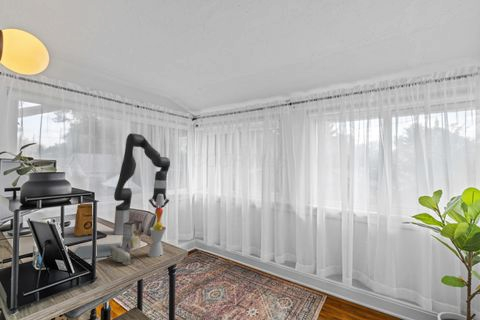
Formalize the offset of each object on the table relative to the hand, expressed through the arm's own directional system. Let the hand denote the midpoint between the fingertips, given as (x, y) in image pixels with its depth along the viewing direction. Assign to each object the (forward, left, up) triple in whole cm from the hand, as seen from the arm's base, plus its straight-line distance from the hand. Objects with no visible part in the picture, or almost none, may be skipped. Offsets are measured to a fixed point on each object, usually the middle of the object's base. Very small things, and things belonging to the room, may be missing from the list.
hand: (158, 213), depth 139 cm
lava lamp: (+14, -1, -21) cm, 25 cm away
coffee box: (0, -14, -21) cm, 25 cm away
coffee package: (-36, -43, -21) cm, 60 cm away
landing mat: (0, -31, -20) cm, 37 cm away
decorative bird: (+18, -20, -21) cm, 34 cm away
